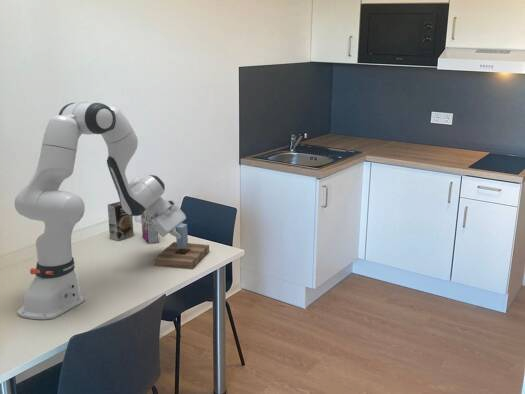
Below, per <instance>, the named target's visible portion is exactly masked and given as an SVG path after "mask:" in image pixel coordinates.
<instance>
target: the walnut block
mask: <svg viewBox="0 0 525 394" xmlns="http://www.w3.org/2000/svg"><path fill="white" fill-rule="evenodd" d="M209 252H210V244H206V243H205V244H203V243H202V244H201V243H194V242H193V243H192V242H188V245H187V246H186V247H185V248H184V249H182V248H177V241H173V242H171V244H170V245H168V246H167V247H166V248H165V249H163V251H161V252H160V253H159V254H158V255H157V256H155V257H154V258H153V262H154V263H153V264H154V266H155V267H156V266H157V267H167V268H176V269H185V270H187V269H189V270H193V269H194V268H195V267H196V266H197V265H198V264H199V263H200V262H201V261H202V260H203V259H204V258H205V256H207V255H208V254H209Z"/></svg>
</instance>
